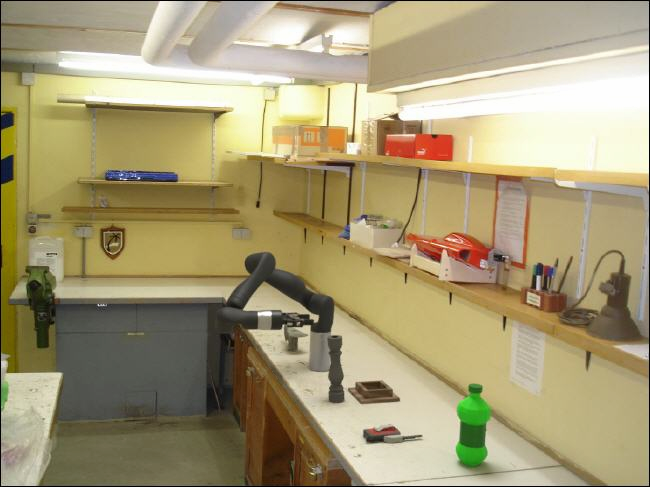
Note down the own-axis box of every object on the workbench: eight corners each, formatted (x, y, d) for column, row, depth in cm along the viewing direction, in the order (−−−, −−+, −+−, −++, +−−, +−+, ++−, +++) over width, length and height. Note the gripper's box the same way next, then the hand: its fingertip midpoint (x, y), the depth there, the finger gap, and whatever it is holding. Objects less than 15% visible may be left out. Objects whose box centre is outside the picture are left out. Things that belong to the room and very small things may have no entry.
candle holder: (335, 395, 288) (333, 334, 284) (347, 399, 284) (346, 336, 280) (325, 400, 283) (323, 337, 280) (337, 403, 279) (335, 339, 276)
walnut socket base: (348, 390, 295) (348, 380, 295) (385, 388, 300) (385, 378, 299) (361, 403, 280) (361, 393, 280) (399, 401, 285) (400, 390, 284)
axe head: (274, 342, 366) (274, 322, 365) (292, 341, 370) (293, 321, 368) (290, 356, 341) (291, 335, 340) (309, 355, 344) (310, 334, 343)
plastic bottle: (455, 454, 236) (460, 378, 233) (489, 459, 233) (494, 383, 230) (451, 466, 226) (456, 388, 223) (486, 471, 223) (491, 392, 220)
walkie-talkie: (368, 447, 240) (423, 441, 247) (369, 434, 240) (424, 428, 246) (358, 437, 248) (412, 431, 255) (359, 424, 248) (412, 419, 254)
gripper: (272, 314, 266) (315, 314, 270) (267, 306, 280) (308, 305, 284) (271, 334, 267) (315, 333, 271) (266, 325, 281) (307, 324, 284)
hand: (311, 319), depth 277 cm, fingers open, 8 cm apart
